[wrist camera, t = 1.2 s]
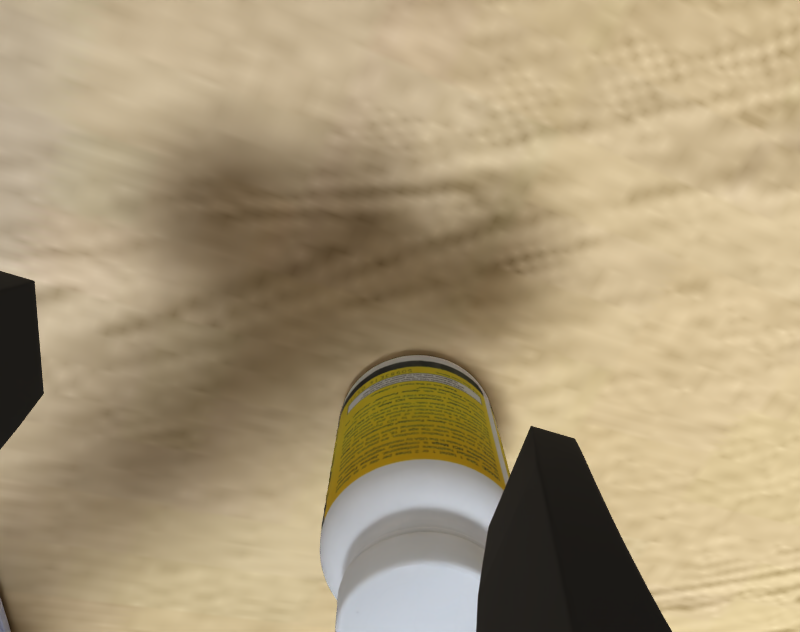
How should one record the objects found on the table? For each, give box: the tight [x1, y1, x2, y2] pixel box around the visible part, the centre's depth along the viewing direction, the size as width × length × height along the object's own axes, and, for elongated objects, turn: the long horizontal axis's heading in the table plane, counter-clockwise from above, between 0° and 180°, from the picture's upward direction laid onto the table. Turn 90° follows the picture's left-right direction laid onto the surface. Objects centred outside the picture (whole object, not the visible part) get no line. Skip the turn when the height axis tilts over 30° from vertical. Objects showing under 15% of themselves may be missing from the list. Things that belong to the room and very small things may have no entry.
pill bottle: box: [320, 355, 510, 632], centre depth 22 cm, size 6×6×11 cm
